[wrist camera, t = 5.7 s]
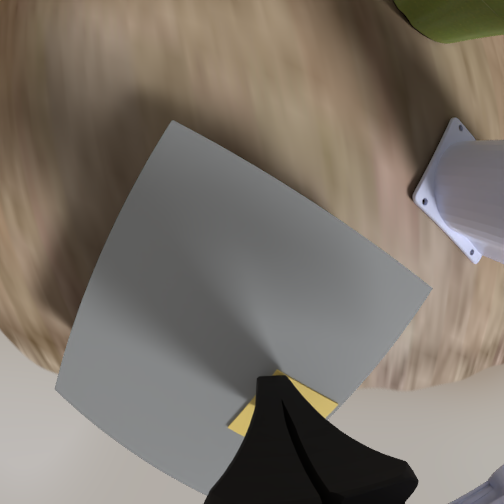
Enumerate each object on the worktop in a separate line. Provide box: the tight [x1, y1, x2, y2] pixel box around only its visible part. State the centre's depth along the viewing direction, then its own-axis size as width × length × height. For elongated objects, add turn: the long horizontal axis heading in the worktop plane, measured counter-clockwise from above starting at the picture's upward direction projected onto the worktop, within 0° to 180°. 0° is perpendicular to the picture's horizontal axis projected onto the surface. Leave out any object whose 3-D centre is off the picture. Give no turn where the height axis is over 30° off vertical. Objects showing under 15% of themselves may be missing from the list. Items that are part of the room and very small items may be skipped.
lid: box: [55, 120, 433, 496], centre depth 12 cm, size 12×16×1 cm
